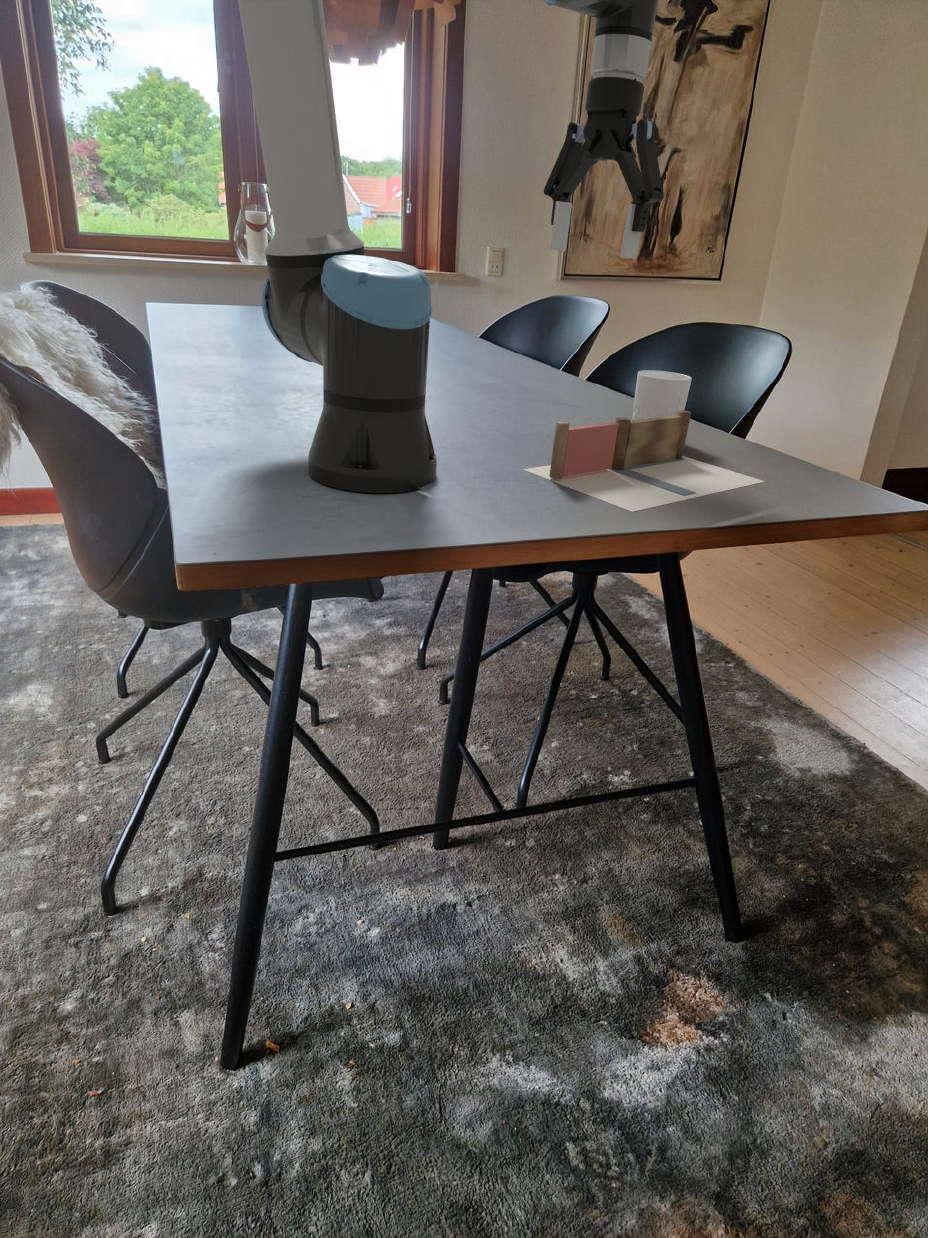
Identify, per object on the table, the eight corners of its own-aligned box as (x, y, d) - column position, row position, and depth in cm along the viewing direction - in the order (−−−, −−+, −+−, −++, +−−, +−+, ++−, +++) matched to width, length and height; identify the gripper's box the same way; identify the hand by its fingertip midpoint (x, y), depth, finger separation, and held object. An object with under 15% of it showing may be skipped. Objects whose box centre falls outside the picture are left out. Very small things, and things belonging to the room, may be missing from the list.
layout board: (631, 515, 88) (632, 510, 88) (522, 472, 100) (522, 468, 100) (764, 484, 104) (765, 480, 103) (656, 450, 116) (657, 447, 116)
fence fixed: (615, 471, 102) (624, 421, 99) (605, 467, 103) (613, 418, 101) (684, 459, 111) (693, 412, 108) (674, 455, 112) (683, 409, 109)
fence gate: (555, 479, 96) (563, 425, 93) (546, 475, 97) (553, 422, 94) (613, 469, 102) (621, 418, 99) (603, 466, 103) (611, 415, 100)
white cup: (639, 432, 126) (650, 368, 121) (686, 443, 122) (699, 376, 117) (618, 440, 120) (629, 373, 115) (666, 451, 116) (680, 381, 112)
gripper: (712, 79, 99) (677, 262, 109) (568, 90, 116) (548, 249, 125) (677, 66, 95) (643, 259, 104) (532, 80, 111) (514, 245, 120)
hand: (591, 254), depth 115 cm, fingers open, 13 cm apart
